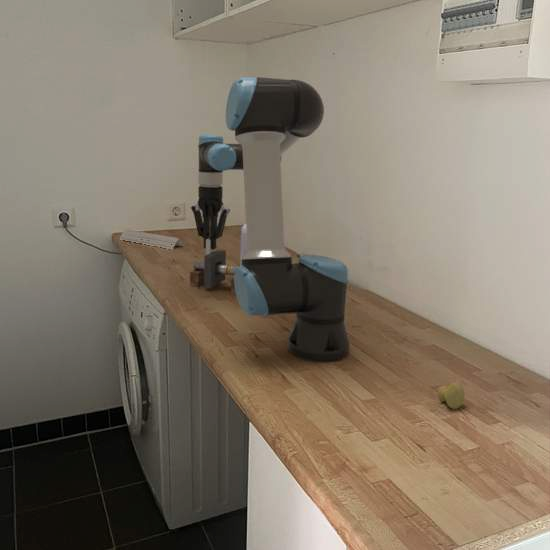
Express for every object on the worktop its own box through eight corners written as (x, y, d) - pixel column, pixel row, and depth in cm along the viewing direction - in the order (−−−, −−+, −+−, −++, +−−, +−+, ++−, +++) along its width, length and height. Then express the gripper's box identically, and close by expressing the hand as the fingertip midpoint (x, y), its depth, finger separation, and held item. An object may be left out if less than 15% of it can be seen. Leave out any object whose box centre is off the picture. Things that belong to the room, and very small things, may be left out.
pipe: (246, 276, 184) (247, 266, 184) (242, 278, 182) (242, 268, 181) (197, 268, 191) (197, 259, 190) (193, 270, 188) (193, 261, 187)
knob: (466, 406, 117) (470, 384, 116) (449, 412, 114) (452, 389, 113) (448, 396, 121) (451, 375, 120) (431, 402, 118) (434, 380, 117)
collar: (225, 279, 192) (225, 250, 189) (210, 287, 183) (211, 256, 180) (218, 278, 193) (219, 249, 190) (204, 286, 184) (204, 255, 181)
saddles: (249, 289, 188) (249, 274, 186) (239, 295, 181) (239, 279, 180) (200, 281, 194) (200, 267, 193) (189, 286, 188) (190, 271, 186)
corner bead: (117, 242, 247) (116, 230, 246) (131, 238, 255) (131, 227, 254) (171, 251, 234) (171, 239, 233) (184, 247, 242) (184, 236, 241)
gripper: (234, 185, 181) (233, 258, 187) (198, 182, 186) (198, 253, 192) (223, 188, 174) (222, 263, 181) (186, 184, 179) (186, 258, 185)
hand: (209, 258), depth 186 cm, fingers closed
